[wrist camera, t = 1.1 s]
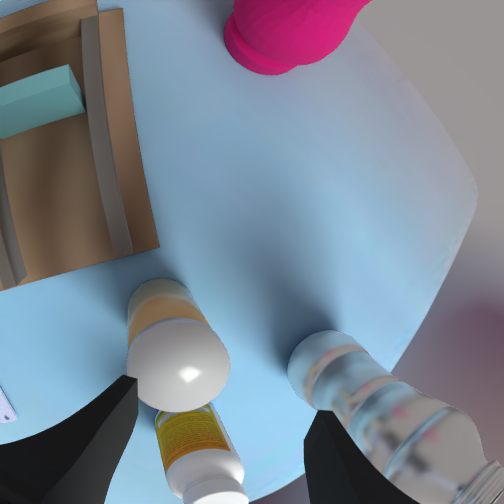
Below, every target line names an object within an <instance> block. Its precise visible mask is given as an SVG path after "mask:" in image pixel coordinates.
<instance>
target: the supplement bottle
mask: <svg viewBox="0 0 504 504" xmlns="http://www.w3.org/2000/svg"><path fill="white" fill-rule="evenodd" d="M155 430H156V435H157V439H158V444H159V449H160V453H161V458H162V462H163V466H164V471H165V475H166V479H167V483H168V486H169V488H170V489H171V491H172V492H173V493H174V494H175V495H176V496H178V497H179V498H181V499H183V503H184V504H248V502H249V501H248V497H247V495H246V493H245V491H244V488H243V486H242V485H241V483H242V481H243V478H244V468H243V465H242V462H241V460H240V458H239V456H238V454H237V452H236V450H235V448H234V446H233V444H232V442H231V440H230V438H229V436H228V434H227V432H226V430H225V428H224V426H223V424H222V421H221V419H220V417H219V415H218V413H217V411H216V410H215V408H214V407H213V406H212V405H211V404H210V403H207V404H206V405H204V406H202V407H200V408H197V409H194V410H190V411H185V412H167V411H162V410H159V411H158V413H157V415H156V417H155Z"/></svg>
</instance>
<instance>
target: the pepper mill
mask: <svg viewBox="0 0 504 504" xmlns="http://www.w3.org/2000/svg"><path fill="white" fill-rule="evenodd" d="M370 1H371V0H235V3H234V12H233V13H232V14H231V16H230V17H229V19H228V21H227V22H226V25H225V28H224V39H225V43H226V46H227V48H228V50H229V52H230V54H231V55H232V56H233V57H234V59H235V60H236V61H237V62H238V63H240V64H241V65H242V66H244V67H245V68H247V69H249V70H251V71H253V72H256V73H259V74H263V75H279V74H283V73H285V72H288V71H289V70H291V69H292V68H294V67H296V66H297V65H307V64H311V63H314V62H317V61H319V60H321V59H323V58H325V57H326V56H327V55H329V54H330V53H331V52H333V51H334V50H335V49H336V48H337V47H338V46H339V45H340V43H341V42H342V41H343V40H344V38H345V37H346V35H347V33H348V31H349V29H350V27H351V25H352V23H353V21H354V19H355V17H356V15H357V14H358V12H359V11H360V10H361V9H362V8H363V7H364V6H365V5H366V4H368V3H369V2H370Z"/></svg>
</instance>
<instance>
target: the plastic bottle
mask: <svg viewBox="0 0 504 504" xmlns="http://www.w3.org/2000/svg"><path fill="white" fill-rule="evenodd" d="M287 375H288V379H289V382H290V384H291V386H292V388H293V390H294V391H295V393H296V395H297V396H298V397H300V398H301V399H302V400H303V401H304V402H306V403H307V404H308V405H309V406H311V407H313V408H314V409H316V410H331V411H333V412H334V413H335V415H336V416H337V418H338V419H339V421H340V422H341V424H342V425H343V427H344V428H345V430H346V431H347V432H348V434H349V435H350V437H351V438H352V439H353V441H354V442H355V444H356V445H357V446H358V447H359V449H360V450H361V451H362V453H363V454H364V455H365V456H366V458H367V459H368V460H369V461H370V462H371V463H372V464H373V466H374V467H375V468H376V469H377V470H378V471H379V472H380V473H381V474H382V475H383V476H384V477H386V478H387V479H388V480H389V481H390V482H391V483H392V484H393V485H395V486H396V487H397V488H398V489H400V490H401V491H402V492H404V493H405V494H406V495H408V496H409V497H411V498H412V499H414V500H415V501H417V502H419V503H420V504H494V503H495V501H497V499H498V498H499V497H500V496H501V495H502V493H503V492H504V468H503V467H502V466H500V463H499V462H497V461H496V460H493V461H491V462H490V463H489V462H488V461H487V460H486V459H485V458H484V454H483V449H482V444H481V440H480V437H479V434H478V431H477V428H476V426H475V424H474V423H473V421H472V420H471V419H470V417H469V416H468V415H467V414H466V413H465V412H463V411H461V410H459V409H457V408H456V407H451V405H448V404H446V403H444V402H442V401H439V400H437V399H435V398H433V397H430V396H428V395H426V394H424V393H421V392H420V391H418V390H416V389H414V388H413V387H411V386H409V385H408V384H406V383H403V382H402V381H401V380H399V379H398V378H396V377H394V376H393V375H391V374H390V373H389V372H388V371H387V370H386V369H385V368H383V367H382V366H381V365H380V364H379V363H378V362H376V361H375V360H374V359H373V358H372V357H371V356H370V355H369V354H368V352H367V351H366V350H365V349H364V347H362V346H361V345H360V344H359V343H358V342H357V341H356V340H355V339H354V338H353V337H351V336H348V335H346V334H343V333H341V332H338V331H334V330H325V331H321V332H317V333H314V334H312V335H310V336H308V337H306V338H305V339H303V340H302V341H301V342H300V343H299V344H298V345H297V346H296V348H295V349H294V351H293V352H292V354H291V357H290V359H289V363H288V369H287Z"/></svg>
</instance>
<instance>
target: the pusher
mask: <svg viewBox="0 0 504 504" xmlns="http://www.w3.org/2000/svg"><path fill="white" fill-rule="evenodd" d="M85 112H86V105H85V97H84V95H83V93H82V91H81V89H80V87H79V85H78V83H77V81H76V79H75V77H74V75H73V73H72V71H71V69H70V67H69V64H68V65H64V66H61V67H57V68H54V69H51V70H48V71H44V72H41V73H38V74H35V75H32V76H30V77H27V78H24V79H21V80H19V81H16V82H13V83H11V84H8V85H6V86H3V87H1V88H0V138H1V139H5V138H7V137H10V136H13V135H15V134H18V133H21V132H24V131H26V130H29V129H32V128H35V127H38V126H41V125H44V124H47V123H50V122H54V121H57V120H60V119H63V118H67V117H70V116H74V115H77V114H81V113H85Z"/></svg>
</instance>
